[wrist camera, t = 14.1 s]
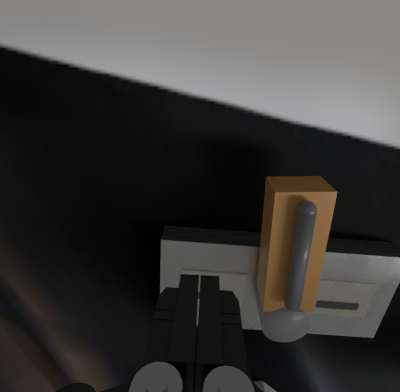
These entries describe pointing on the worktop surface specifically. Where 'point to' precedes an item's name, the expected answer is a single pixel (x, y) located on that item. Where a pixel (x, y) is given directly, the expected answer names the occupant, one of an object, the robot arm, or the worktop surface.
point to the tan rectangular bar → (292, 253)
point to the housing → (328, 285)
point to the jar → (264, 386)
